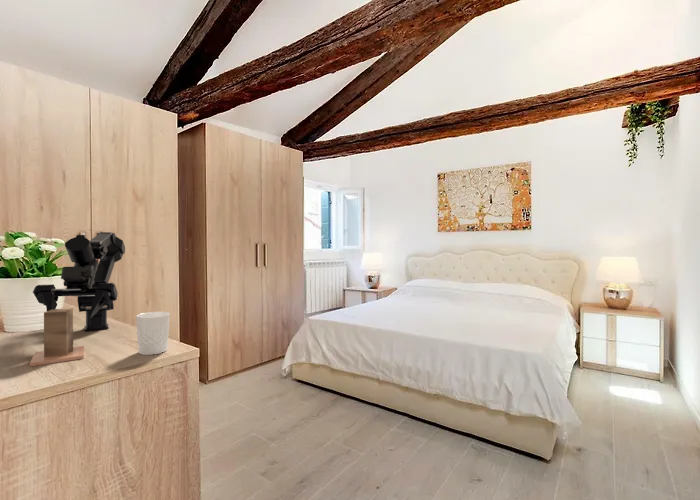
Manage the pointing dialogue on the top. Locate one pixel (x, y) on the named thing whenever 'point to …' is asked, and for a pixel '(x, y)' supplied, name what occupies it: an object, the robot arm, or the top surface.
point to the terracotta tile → (57, 357)
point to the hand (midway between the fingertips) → (70, 317)
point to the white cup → (152, 332)
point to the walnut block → (58, 332)
